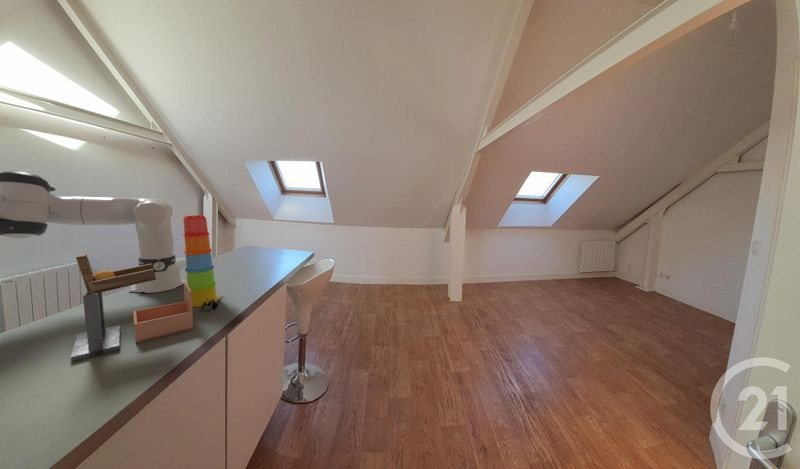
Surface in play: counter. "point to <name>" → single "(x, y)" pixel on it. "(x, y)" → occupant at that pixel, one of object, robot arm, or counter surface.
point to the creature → (210, 305)
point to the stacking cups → (199, 260)
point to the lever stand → (95, 331)
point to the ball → (103, 275)
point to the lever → (120, 280)
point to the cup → (164, 319)
